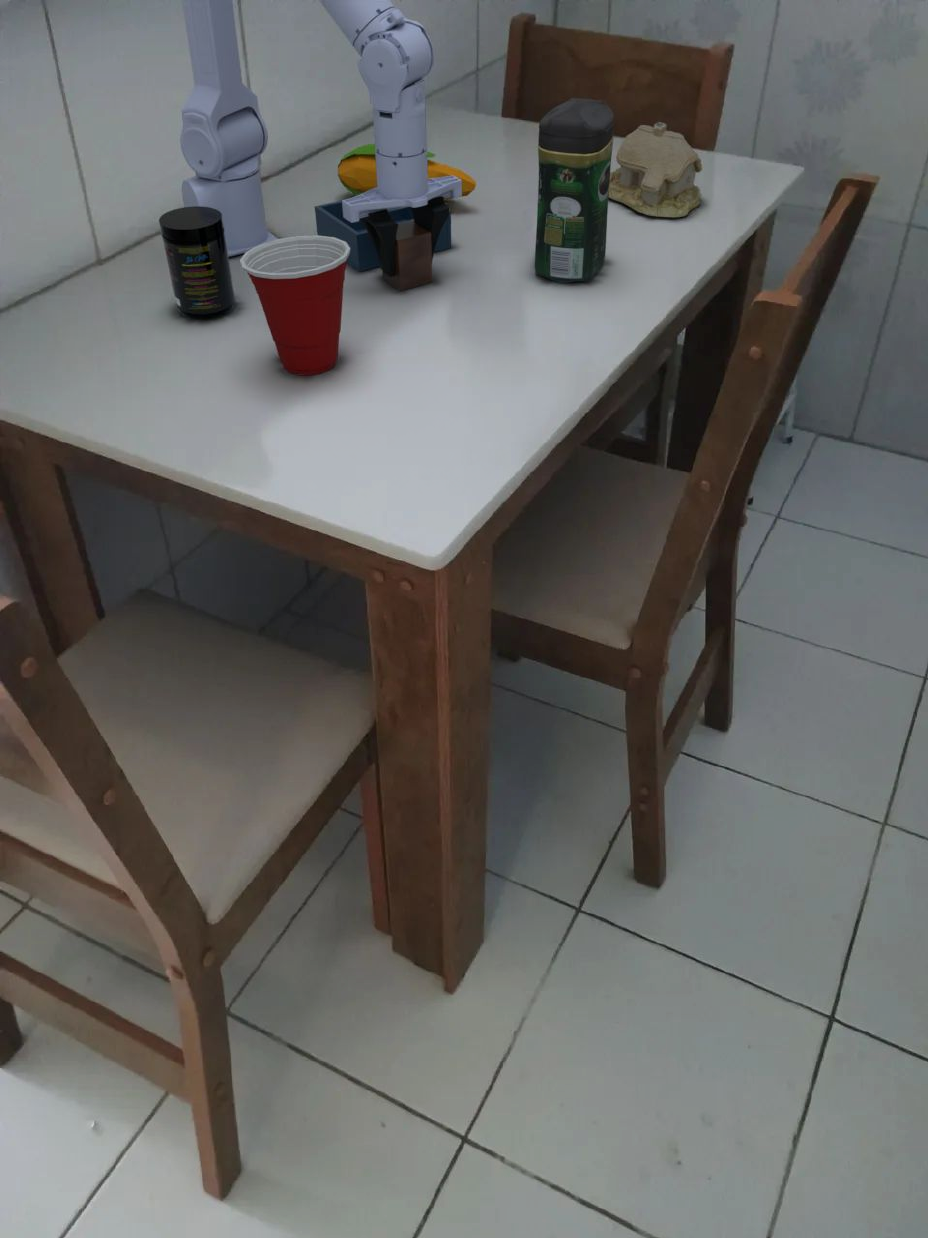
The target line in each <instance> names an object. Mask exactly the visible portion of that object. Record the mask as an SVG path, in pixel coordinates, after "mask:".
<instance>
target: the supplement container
mask: <svg viewBox="0 0 928 1238" xmlns="http://www.w3.org/2000/svg"><path fill="white" fill-rule="evenodd" d="M158 223H159V227H160V228H159V229H160V232H161V233H160V235H161V238H162V241H163V247H164V251H165V256H166V261H167V266H168V271H169V272H168V273H169V276H170V281H171V286H172V292H173V296H174V302H175V307H176V309H177V310H178V312H179V314H181V315H182V316H183V317H185V318H188V319H191V320H197V321H204V320H205V321H207V320H214V319H217V318H221V317H223V316H226V315H228V314H229V313H230V312H231V311H232V310H233V309H234V307H235V304H236V296H235V290H234V283H233V278H232V272H231V265H230V257H228V251H227V245H226V239H225V233H224V231H225V229H224V225H223V218H222V214H221V212H220V211H218V210H216V209H214V208H210V207H202V206H193V207H179V208H174V209H172V210H169V211H166V212H165V213H163V214H162V215H161V216H160V217H159V219H158Z"/></svg>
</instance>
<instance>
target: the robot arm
mask: <svg viewBox="0 0 928 1238" xmlns="http://www.w3.org/2000/svg"><path fill="white" fill-rule="evenodd" d="M318 1H319V3H320V4H321V5H322V7H323V8H324V9H325V11H326V12H327V13H328V15H329V16H330V17H331V19H332V20H333V22H334V23H335V24H336V26H337V27H338V28H339V30H340V31H341V33H342V34H343V35H344V36H345V38H346V40H347V41H348V42H349V43H350V44H351V46H352V47H353V49H354V50H355V52H357V54H358V55H359V56H360V57H361V58H360V59H358V60H357V67H358V72H359V74H360V77H361V79H362V81H363V82H364V84H365V86H366V87H367V89H368V93H369V103H370V104H371V106H372V120H373V122H372V123H373V136H374V137H373V138H374V144H375V156H376V172H377V187H376V188H374V189H371V190H369V191H367V192H364V193H362V194H360V195H358V196H357V195H355V196H352V197H350V198H346V200H345V199H342V207H343V217H344V218H345V219H346V220H348V221H350V222H351V223H353V222H357V221H359V218H360V220H361V221H362V223H363V225H364V226H365V228H366V230H367V232H368V233H369V235H370V237H371V239H372V242H373V244H374V246H375V249H376V251H377V254H378V257H379V261H380V264H381V266H380V268H381V273H382V272H383V273H385V274H386V275H388V276H389V277H393V276H395V271H396V258H395V242H396V234H397V229H398V224H397V223H396V222H394V221H392V220H391V215H388V212H389V211H393V210H397V209H402V208H406V207H412V212H413V217H414V222H415V223H416V224H418V225H419V226H421V227H423V228H424V229H426V230H427V231H429V232H431V251H432V261H433V259H434V255H435V252H434V251H435V247H436V243H437V240H438V237H439V234H440V232H441V229H442V227H443V225H444V223H445V221H446V220H447V218H448V216H449V213H450V212H451V211H450V209H451V208H450V205H449V204H448V203H446V202H445V200H444V198H448V197H453V199H458V198H462V180H461V179H459V178H457V177H455V176H453V175H452V176H446V177H439V178H428V169H427V159H428V158H427V151H428V141H427V140H428V139H427V137H428V135H427V107H426V106H427V105H426V102H427V101H426V80H425V78H426V77H427V76H428V75H429V73H431V71H432V69H433V66H434V63H435V49H434V45H433V41H432V40H431V37H430V35H429V34H428V32H427V29H426V27H425V26H424V25H422V24H421V23H420V22H418V21H416V20H413V19H409V18H407V17H405V16H404V14H403V13H402V11H401V10H400V9H399V8H396V6H395V5H394V4H393V3H392V1H391V0H318ZM181 4H182V10H183V17H184V22H185V29H186V37H187V42H188V51H189V57H190V62H191V70H192V77H193V84H194V85H193V88H192V90H191V91H190V94H189V95H188V97H187V98H186V100H185V101H184V104H183V105H182V108H181V111H180V112H181V118H182V128H181V133H180V139H179V144H180V149H181V153H182V156H183V158H184V160H185V162H186V163H187V165H188V166H189V167H190V169H191V170H192V171H193V172H194V173H195V175H194V176H192V177H189V178H186V179H184V180H183V181H182V182H181V195H182V202H183V206H184V207H193V206H202V207H210V208H214V209H216V210H218V211H220V212H221V214H222V218H223V225H224V229H225V231H224V233H225V239H226V245H227V251H228V258H230V257H233V256H238V255H243V254H245V253H246V252H247V251H249V250H251V249H253V248H254V247H256V246H258V245H261V244H264V243H267V242H271V241H274V240H277V239H279V238H278V237H276V236H275V235H274V234H273V233H271V232H270V231H269V230H268V227H267V219H266V212H265V211H266V210H265V204H264V196H263V188H262V181H261V173H260V165H262V163H263V162H262V154H263V153H264V152H265V151H266V150H267V146H268V142H269V139H268V138H269V134H268V133H269V132H268V128H267V125H266V122H265V120H264V118H263V116H262V114H261V112H260V107H259V100H258V96H257V95H256V94H255V92H253V91H252V90H251V89H250V88H248V87H247V86H246V85H245V84H244V83H243V77H242V76H243V75H242V70H241V69H242V68H241V60H240V52H239V51H240V50H239V44H238V35H237V29H236V19H235V11H234V2H233V0H181Z"/></svg>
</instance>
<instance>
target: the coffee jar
mask: <svg viewBox="0 0 928 1238" xmlns="http://www.w3.org/2000/svg"><path fill="white" fill-rule="evenodd" d="M538 123H539V124H538V141H537V142H538V143H537V155H538V156H537V157H538V184H537V185H538V188H537V211H536V213H537V214H536V231H535V247H534V270H535V272H536V274H538V275H539V276H542V277H544V278H546V279H547V280H551V281H553V282H558V283H572V282H573V283H574V282H586V281H588V280H590V279H591V278H593V277H594V276H595V275H596V274H597V273H598V272H599V270H600V269H601V268H602V266H603V264H604V262H605V259H606V252H607V251H606V249H607V233H608V213H609V212H608V211H609V182H610V172H611V168H612V166H611V165H612V157H613V145H614V135H615V114H614V112H613V111H612V109H611V108H610V107H609V106H608V105H607V104H606V103H605V102H604V101H603V100H599V99H589V98H588V99H587V98H578V97H577V98H576V97H571V98H569V99H568V100H567V101H565V102H563V103H561V104H559V105H557V106H555V107H553V108H552V109H551V110H550V111H548V112H547V113H546V114H545V115H544V116H543V117H542V118H541V120H540V121H539V122H538Z"/></svg>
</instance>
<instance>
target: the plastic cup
mask: <svg viewBox="0 0 928 1238" xmlns="http://www.w3.org/2000/svg"><path fill="white" fill-rule="evenodd" d="M349 254H350V247H349V246H348V244H347V243H346V242H345V241H342V240H340V239H337V238H335V237H327V236H318V235H317V234H316V235H315V234H314V235H296V236H295V235H294V236H290V237H284V238H278V239H277V240H274V241H271V242H267V243H264V244H261V245H258V246H256V247H254V248H253V249H251V250H249V251H247V252H246V253H243V254H242V256H241V258H240V259H239V262H240V265H241V267H242V269H243V271H244V272H245V273H247V275H248V277H249V278H250V280H251V283H252V285H253V286H254V289H255V291H256V294H257V296H258V299H259V302H260V305H261V307H262V311H263V314H264V316H265V320H266V323H267V327H268V329H269V332H270V335H271V339H272V340H273V342H274V345H275V348H276V351H277V354H278V357H279V361H280V364H281V365H282V366H283V369H284V370H285V371H287V372H288V373H289V374H294V375H297V376H313V375H320V374H323V373H325V372H328V371H330V370H331V369H332V368H334V367H335V366H336V363H337V360H338V356H339V346H340V333H341V330H342V329H341V328H342V326H341V325H342V313H343V298H344V283H345V279H346V278H345V277H346V269H347V258H348V256H349Z"/></svg>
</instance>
